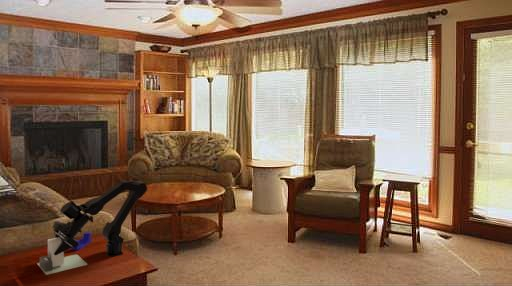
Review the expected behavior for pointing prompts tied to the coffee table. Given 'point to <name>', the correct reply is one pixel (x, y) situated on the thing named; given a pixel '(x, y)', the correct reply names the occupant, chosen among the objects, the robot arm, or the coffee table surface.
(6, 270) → the coffee table surface
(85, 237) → the cable clip
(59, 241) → the plug housing
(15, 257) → the coffee table surface
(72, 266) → the board
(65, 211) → the robot arm
